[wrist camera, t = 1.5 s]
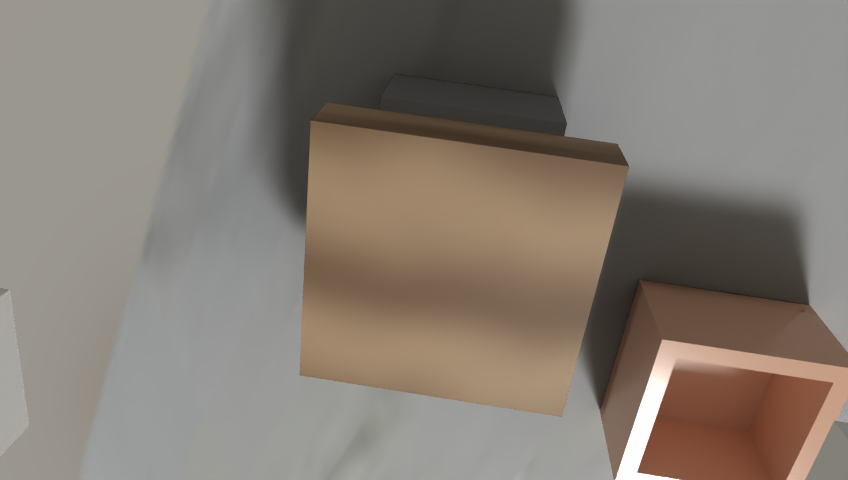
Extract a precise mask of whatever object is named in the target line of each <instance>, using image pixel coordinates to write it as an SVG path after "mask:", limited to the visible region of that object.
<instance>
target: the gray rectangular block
mask: <svg viewBox="0 0 848 480" xmlns="http://www.w3.org/2000/svg"><path fill="white" fill-rule="evenodd" d="M379 110H384V111H391V112H398V113H405V114H412V115H419V116H426V117H433V118H440V119H447V120H454V121H461V122H468V123H475V124H482V125H489V126H496V127H503V128H510V129H517V130H524V131H531V132H538V133H545V134H551V135H558V136H564V134H565V129H566V125H567V122H566V119H565V116H564V113H563V110H562V107H561V104H560V101H559V98H558V97H554V96H547V95H540V94H533V93H526V92H519V91H511V90H504V89H497V88H490V87H483V86H476V85H469V84H462V83H455V82H448V81H441V80H434V79H426V78H419V77H412V76H405V75H398V74H395V75H394V77H393V78H392V80H391V81H390V83H389V84H388V86H387V87H386V89H385V91H384V92H383V94H382V95H381V97H380V107H379Z"/></svg>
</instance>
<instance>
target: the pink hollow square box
mask: <svg viewBox="0 0 848 480" xmlns="http://www.w3.org/2000/svg"><path fill="white" fill-rule="evenodd" d="M847 398H848V352H847V351H846V350H845V349H844V347H843V346H842V345H841V344H840V342H839V341H838V340H837V339H836V337H835V336H834V335H833V334H832V332H831V331H830V330H829V329H828V327H827V326H826V325H825V324H824V322H823V321H822V320H821V319H820V317H819V316H818V315H817V314H816V312H815V311H814V310H813V309H812V307H811V306H810V305H804V304H798V303H791V302H785V301H778V300H771V299H765V298H758V297H751V296H745V295H738V294H731V293H725V292H718V291H712V290H705V289H698V288H692V287H685V286H678V285H672V284H665V283H658V282H652V281H645V280H639V282H638V285H637V289H636V292H635V295H634V299H633V302H632V305H631V309H630V312H629V315H628V319H627V322H626V325H625V329H624V332H623V335H622V339H621V342H620V345H619V349H618V352H617V355H616V359H615V362H614V365H613V369H612V372H611V375H610V379H609V382H608V385H607V389H606V392H605V395H604V399H603V402H602V405H601V409H600V414H601V419H602V424H603V429H604V433H605V438H606V443H607V448H608V453H609V458H610V463H611V468H612V473H613V477H614V480H805V479H806V477H807V475H808V473H809V471H810V469H811V467H812V465H813V463H814V461H815V459H816V457H817V455H818V453H819V451H820V449H821V447H822V445H823V442H824V440H825V438H826V436H827V434H828V432H829V430H830V428H831V426H832V424H833V422H834V421H836V420H837V418H838V416H839V414H840V412H841V410H842V408H843V406H844V404H845V402H846V400H847Z"/></svg>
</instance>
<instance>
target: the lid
mask: <svg viewBox="0 0 848 480" xmlns="http://www.w3.org/2000/svg"><path fill="white" fill-rule="evenodd" d="M628 169H629V165H628V163H627V161H626V159H625V157H624V156H623V154H622V152H621V150H620V148H619V146H618V144H614V143H607V142H600V141H593V140H586V139H579V138H572V137H565V136H558V135H551V134H545V133H538V132H531V131H524V130H517V129H510V128H503V127H496V126H489V125H482V124H475V123H468V122H461V121H454V120H447V119H440V118H433V117H426V116H419V115H412V114H405V113H398V112H391V111H384V110H377V109H370V108H363V107H356V106H349V105H342V104H335V103H328V102H327V103H326V104H325V105H324V106H323V108H322V109H321V110H320V111H319V112H318V113H317V114H316V115H315V116H314V117H313V118H312V120H311V125H310V148H309V171H308V194H307V217H306V240H305V263H304V286H303V309H302V332H301V355H300V375H301V376H308V377H314V378H320V379H327V380H333V381H339V382H345V383H352V384H358V385H364V386H371V387H377V388H383V389H389V390H396V391H402V392H408V393H415V394H421V395H427V396H433V397H440V398H446V399H452V400H459V401H465V402H471V403H477V404H484V405H490V406H496V407H503V408H509V409H515V410H521V411H528V412H534V413H540V414H547V415H553V416H559V417H562V414H563V411H564V407H565V403H566V400H567V396H568V392H569V388H570V385H571V381H572V377H573V373H574V370H575V366H576V362H577V359H578V355H579V351H580V347H581V344H582V340H583V336H584V333H585V329H586V325H587V321H588V318H589V314H590V310H591V307H592V303H593V299H594V295H595V292H596V288H597V284H598V281H599V277H600V273H601V269H602V266H603V262H604V258H605V255H606V251H607V247H608V243H609V240H610V236H611V232H612V228H613V225H614V221H615V217H616V214H617V210H618V206H619V202H620V199H621V195H622V191H623V188H624V184H625V180H626V176H627V173H628Z"/></svg>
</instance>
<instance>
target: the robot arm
mask: <svg viewBox="0 0 848 480" xmlns="http://www.w3.org/2000/svg"><path fill="white" fill-rule="evenodd" d="M28 426H29V420H28V413H27V406H26V400H25V393H24V386H23V379H22V372H21V365H20V358H19V352H18V344H17V338H16V331H15V324H14V318H13V310H12V304H11V296H10V290H8V289H2V288H0V456H1V455H2V454H3V453H4V452H5V451H6V450H7V449H8V448H9V447H10V445H11V444H12V443H13V442H14V441H15V440H16V439H17V438H18V437H19V436H20V435H21V434H22V433H23V432H24V430H25V429H26V428H27V427H28ZM805 480H848V423H845V422H839V421H834V422H833V424H832V426H831V428H830V430H829V432H828V434H827V436H826V438H825V440H824V442H823V445H822V447H821V449H820V451H819V453H818V455H817V457H816V459H815V461H814V463H813V465H812V467H811V469H810V471H809V473H808V475H807V477H806V479H805Z"/></svg>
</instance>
